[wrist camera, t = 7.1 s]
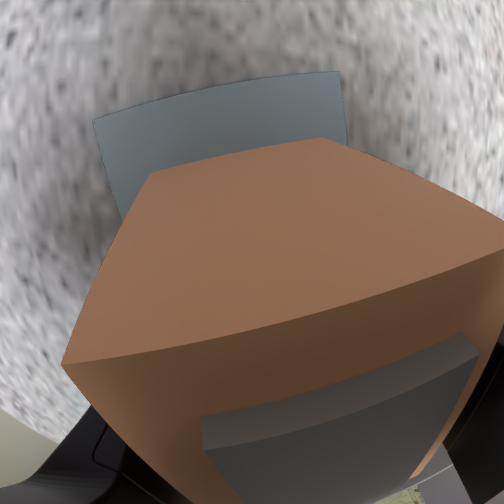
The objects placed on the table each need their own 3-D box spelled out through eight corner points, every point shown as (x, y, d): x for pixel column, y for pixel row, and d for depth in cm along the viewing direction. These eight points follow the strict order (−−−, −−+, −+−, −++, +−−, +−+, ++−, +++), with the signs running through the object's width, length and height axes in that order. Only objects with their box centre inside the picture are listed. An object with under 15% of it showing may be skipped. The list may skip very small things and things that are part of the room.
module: (208, 353, 12) (236, 544, 5) (150, 173, 8) (49, 399, 2) (334, 321, 12) (424, 485, 6) (322, 137, 9) (552, 252, 2)
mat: (168, 332, 16) (167, 337, 16) (95, 119, 11) (92, 120, 10) (350, 287, 17) (353, 291, 16) (334, 71, 12) (338, 71, 11)
